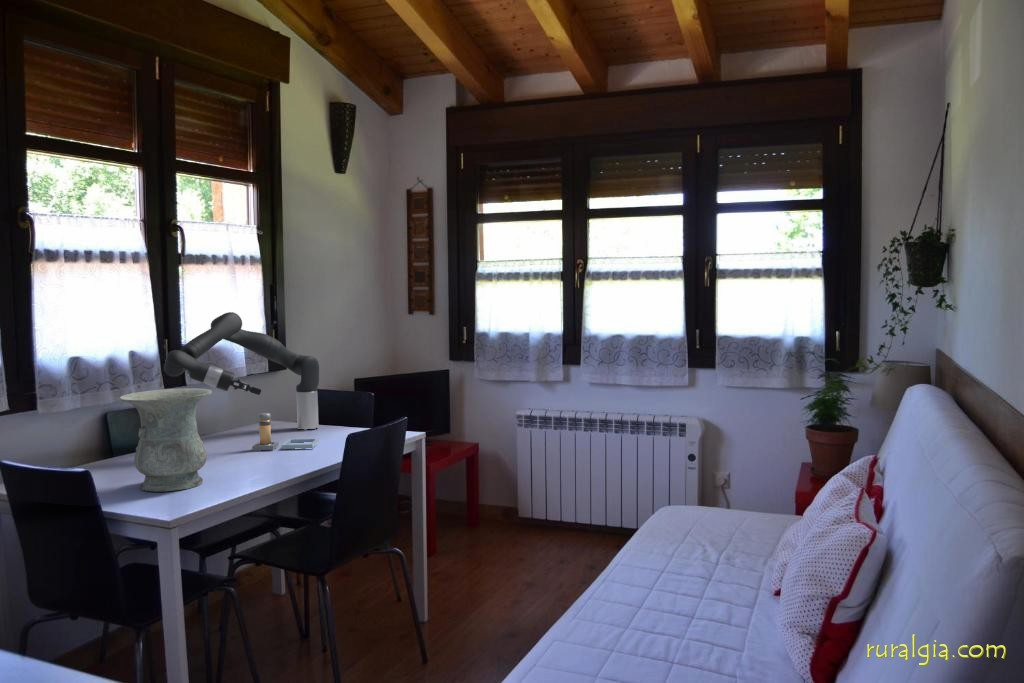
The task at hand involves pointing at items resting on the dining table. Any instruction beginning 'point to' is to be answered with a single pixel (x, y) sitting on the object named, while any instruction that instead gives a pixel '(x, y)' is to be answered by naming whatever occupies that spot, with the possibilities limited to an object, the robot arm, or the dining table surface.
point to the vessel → (169, 438)
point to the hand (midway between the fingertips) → (260, 392)
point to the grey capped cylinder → (265, 428)
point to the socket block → (265, 446)
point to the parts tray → (292, 446)
